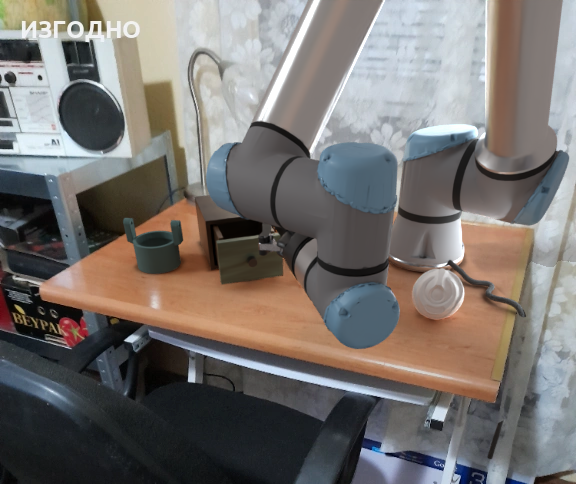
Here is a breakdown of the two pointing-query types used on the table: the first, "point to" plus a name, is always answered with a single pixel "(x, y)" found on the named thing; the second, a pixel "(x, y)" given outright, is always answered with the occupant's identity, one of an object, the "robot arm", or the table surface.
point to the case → (208, 216)
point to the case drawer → (243, 252)
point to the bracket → (156, 247)
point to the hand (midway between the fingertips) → (273, 201)
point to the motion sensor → (438, 294)
